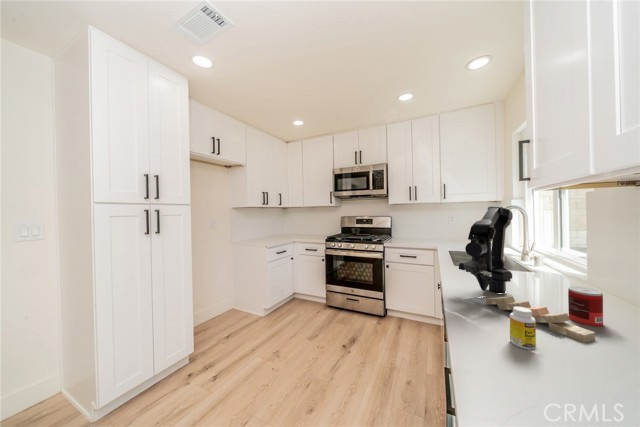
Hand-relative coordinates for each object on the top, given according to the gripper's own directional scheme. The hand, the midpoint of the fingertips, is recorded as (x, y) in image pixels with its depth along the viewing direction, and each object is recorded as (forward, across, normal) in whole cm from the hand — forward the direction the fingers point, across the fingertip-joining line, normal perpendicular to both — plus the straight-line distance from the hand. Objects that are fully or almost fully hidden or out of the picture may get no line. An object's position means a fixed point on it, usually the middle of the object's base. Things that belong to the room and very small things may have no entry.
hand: (483, 290), depth 96 cm
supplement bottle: (+5, +25, -20) cm, 33 cm away
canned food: (+5, +24, +14) cm, 29 cm away
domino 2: (+3, +8, 0) cm, 8 cm away
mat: (+5, +12, 0) cm, 13 cm away
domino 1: (+3, +3, 0) cm, 4 cm away
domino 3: (+3, +13, 0) cm, 13 cm away
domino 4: (+3, +18, -1) cm, 19 cm away
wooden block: (+3, +23, -1) cm, 23 cm away
